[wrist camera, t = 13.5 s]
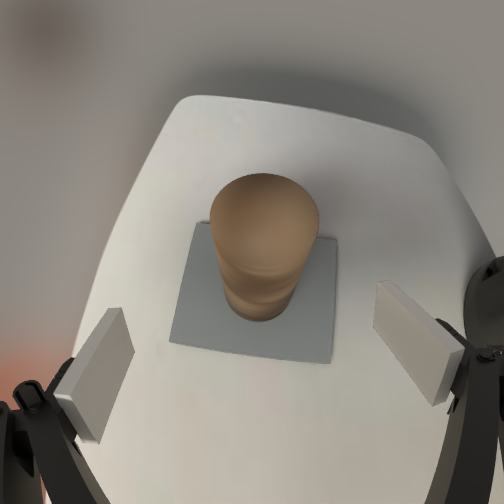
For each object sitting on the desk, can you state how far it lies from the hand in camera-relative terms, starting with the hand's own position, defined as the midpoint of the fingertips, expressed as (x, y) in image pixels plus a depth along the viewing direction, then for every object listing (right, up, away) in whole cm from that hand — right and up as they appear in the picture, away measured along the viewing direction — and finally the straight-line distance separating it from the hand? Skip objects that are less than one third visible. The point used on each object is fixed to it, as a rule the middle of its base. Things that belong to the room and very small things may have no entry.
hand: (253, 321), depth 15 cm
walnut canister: (+1, 0, +13) cm, 13 cm away
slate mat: (+1, 0, +13) cm, 13 cm away
